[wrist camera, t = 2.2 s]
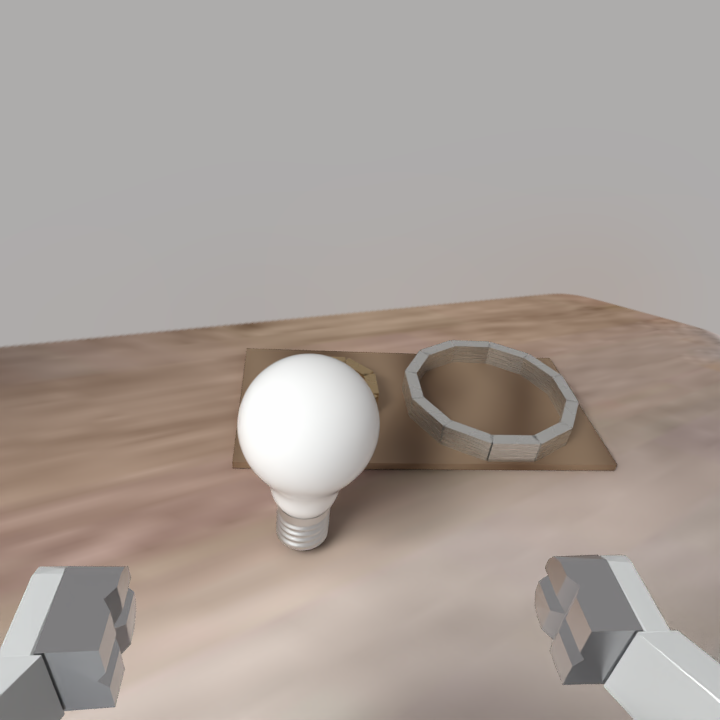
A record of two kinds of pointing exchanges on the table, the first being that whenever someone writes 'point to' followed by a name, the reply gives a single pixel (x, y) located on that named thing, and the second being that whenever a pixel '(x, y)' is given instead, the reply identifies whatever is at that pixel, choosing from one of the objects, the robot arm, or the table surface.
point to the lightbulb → (307, 439)
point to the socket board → (464, 409)
